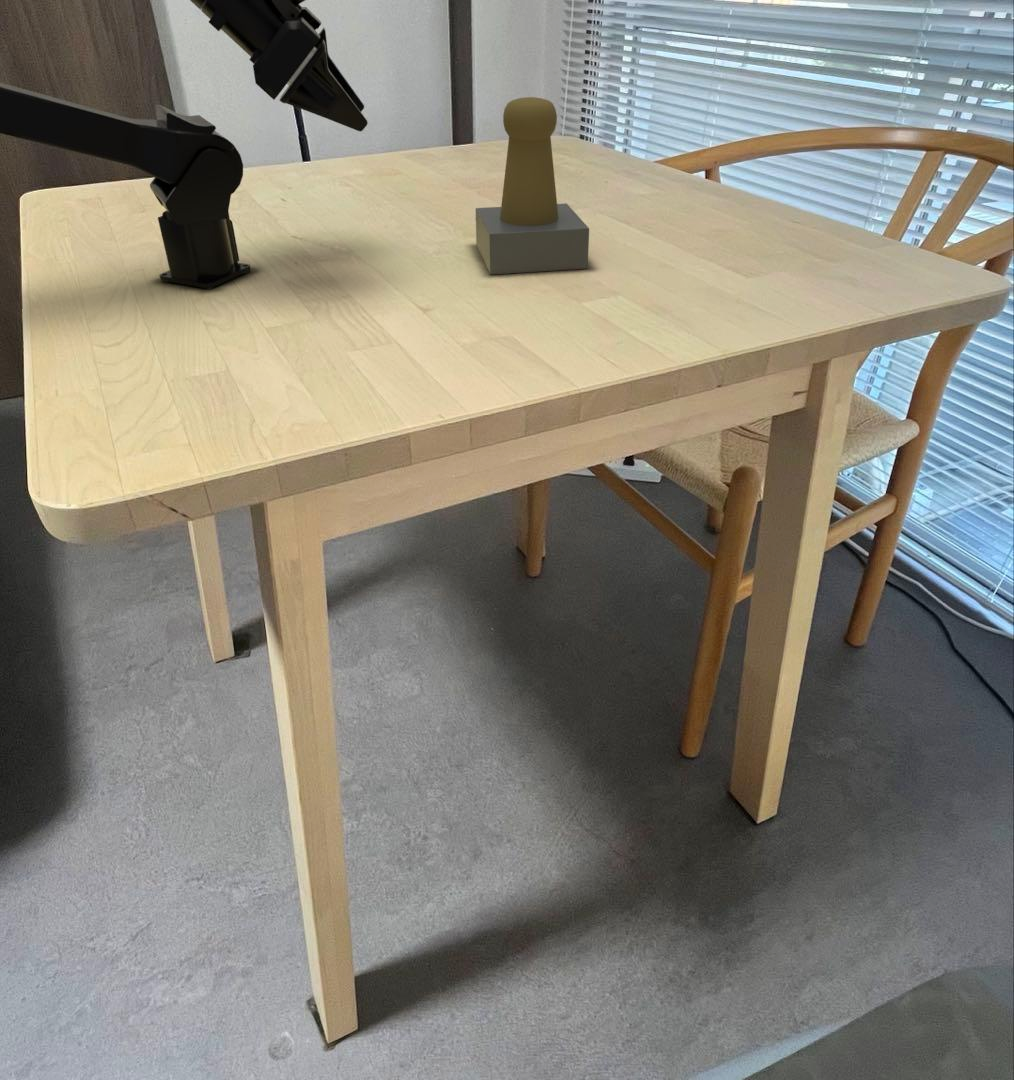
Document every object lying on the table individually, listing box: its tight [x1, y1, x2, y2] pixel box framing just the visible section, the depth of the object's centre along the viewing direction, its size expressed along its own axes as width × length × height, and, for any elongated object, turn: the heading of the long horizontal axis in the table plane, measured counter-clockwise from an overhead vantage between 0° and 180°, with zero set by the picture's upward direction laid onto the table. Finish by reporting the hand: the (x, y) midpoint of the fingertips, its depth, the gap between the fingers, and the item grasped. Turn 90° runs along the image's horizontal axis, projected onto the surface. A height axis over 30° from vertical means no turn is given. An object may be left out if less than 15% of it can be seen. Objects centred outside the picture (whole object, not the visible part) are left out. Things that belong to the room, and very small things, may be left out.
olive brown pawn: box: [500, 96, 558, 226], centre depth 86 cm, size 6×6×11 cm
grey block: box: [475, 203, 590, 275], centre depth 90 cm, size 10×10×4 cm
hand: (363, 118), depth 82 cm, fingers open, 9 cm apart
